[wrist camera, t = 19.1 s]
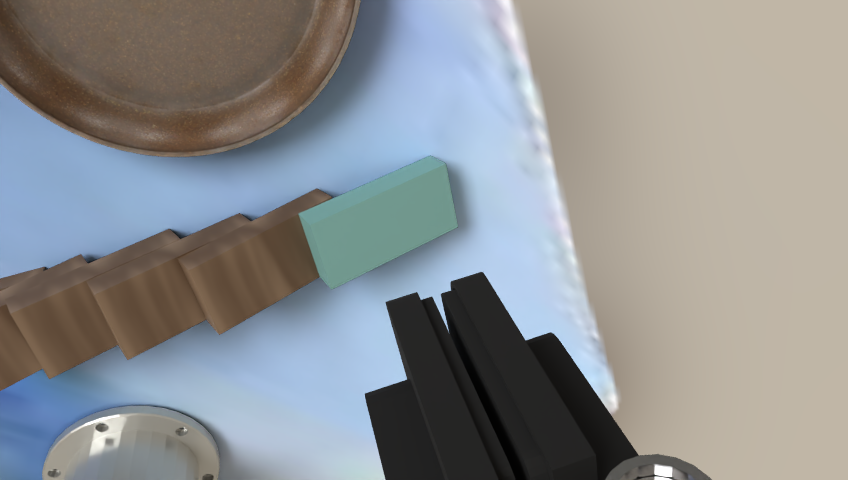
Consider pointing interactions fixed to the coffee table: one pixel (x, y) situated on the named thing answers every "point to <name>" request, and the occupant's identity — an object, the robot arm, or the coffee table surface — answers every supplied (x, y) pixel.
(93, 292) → the domino
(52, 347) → the domino
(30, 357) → the domino
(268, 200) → the coffee table surface
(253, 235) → the domino
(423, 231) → the tile
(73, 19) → the plant saucer
